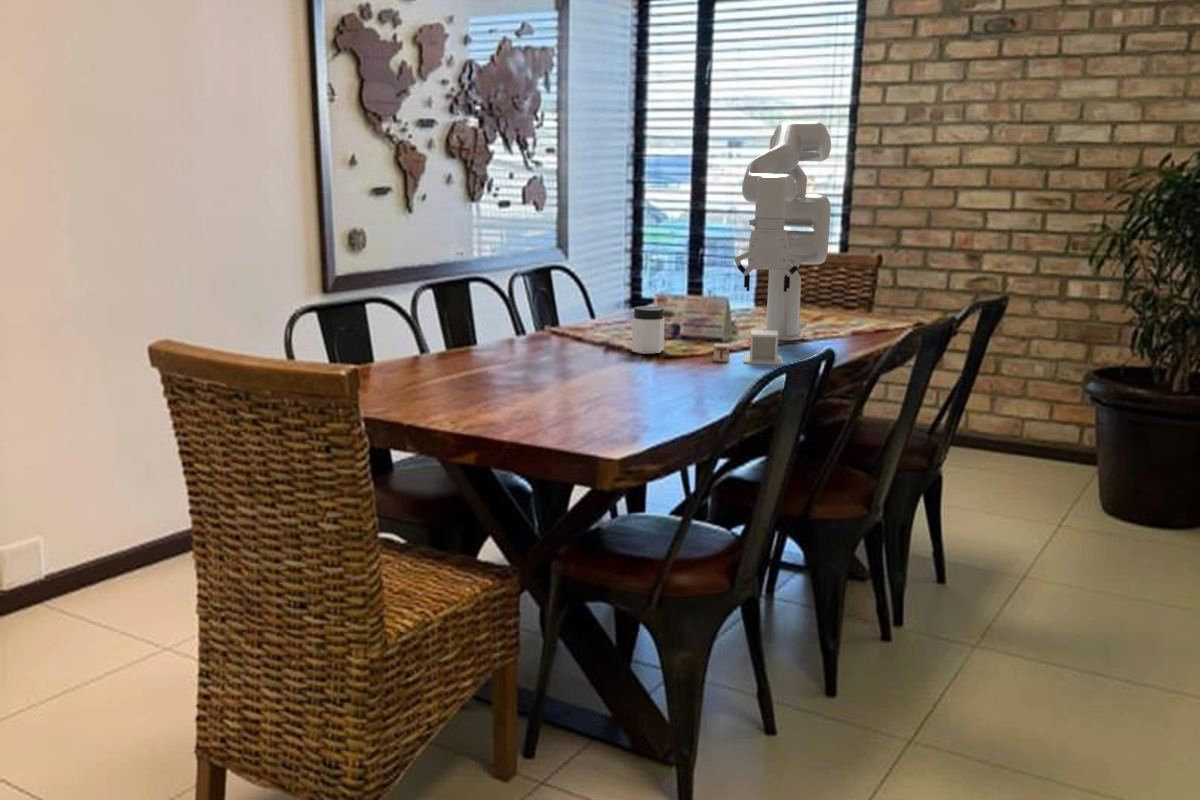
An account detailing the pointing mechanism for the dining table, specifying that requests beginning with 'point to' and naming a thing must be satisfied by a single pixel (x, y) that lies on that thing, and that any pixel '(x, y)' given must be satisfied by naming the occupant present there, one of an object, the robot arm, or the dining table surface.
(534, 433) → the dining table surface
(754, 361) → the mat
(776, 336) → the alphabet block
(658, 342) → the jar
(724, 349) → the letter cube
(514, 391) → the dining table surface
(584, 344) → the dining table surface
